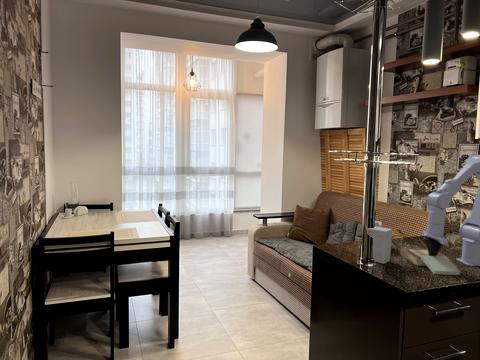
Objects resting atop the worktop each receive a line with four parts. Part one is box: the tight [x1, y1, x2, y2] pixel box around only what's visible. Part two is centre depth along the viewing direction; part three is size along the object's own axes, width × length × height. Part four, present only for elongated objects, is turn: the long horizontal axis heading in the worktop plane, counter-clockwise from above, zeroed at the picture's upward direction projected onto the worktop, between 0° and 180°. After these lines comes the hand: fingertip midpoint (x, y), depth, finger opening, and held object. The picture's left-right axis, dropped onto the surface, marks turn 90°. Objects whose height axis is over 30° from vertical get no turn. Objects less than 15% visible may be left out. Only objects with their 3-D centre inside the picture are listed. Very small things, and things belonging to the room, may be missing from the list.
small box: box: [366, 226, 393, 265], centre depth 144 cm, size 8×6×13 cm
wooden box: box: [399, 246, 450, 267], centre depth 147 cm, size 13×14×4 cm
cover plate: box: [421, 255, 461, 276], centre depth 135 cm, size 9×10×2 cm
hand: (432, 257), depth 141 cm, fingers closed
